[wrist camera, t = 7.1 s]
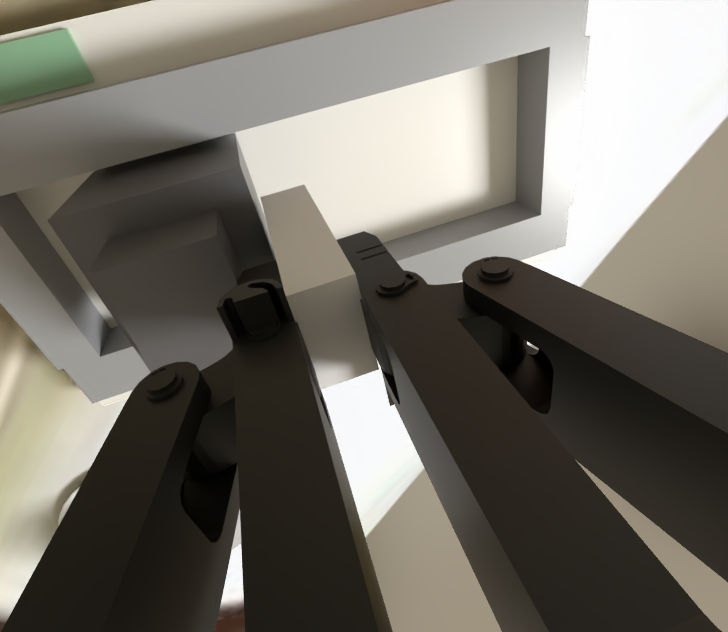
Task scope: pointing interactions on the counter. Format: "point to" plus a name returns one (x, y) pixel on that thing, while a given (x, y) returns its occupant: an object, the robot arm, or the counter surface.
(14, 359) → the counter surface
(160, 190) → the handle
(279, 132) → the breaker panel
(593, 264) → the counter surface
